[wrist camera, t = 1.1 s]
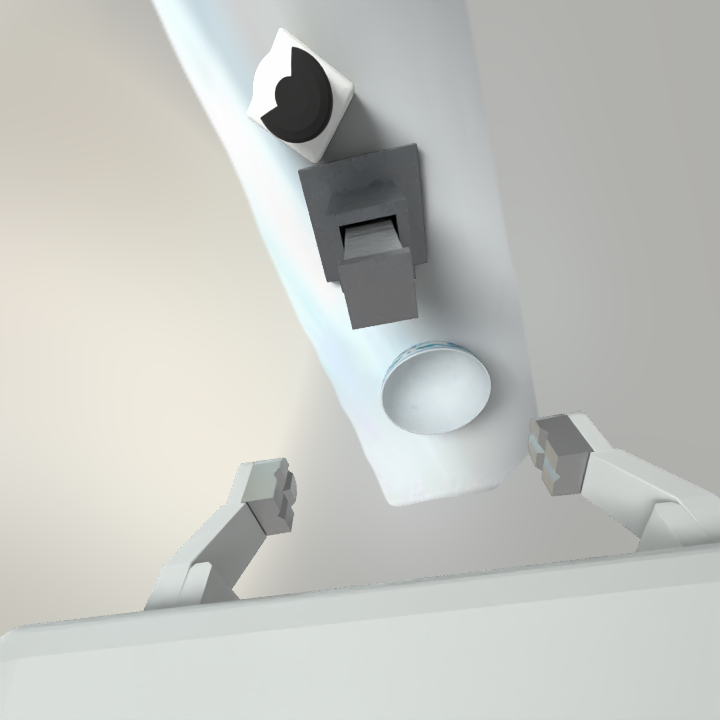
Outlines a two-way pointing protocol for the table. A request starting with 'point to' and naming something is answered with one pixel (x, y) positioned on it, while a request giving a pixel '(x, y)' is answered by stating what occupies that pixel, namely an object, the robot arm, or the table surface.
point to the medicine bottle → (299, 97)
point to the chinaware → (435, 388)
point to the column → (377, 275)
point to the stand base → (365, 201)
